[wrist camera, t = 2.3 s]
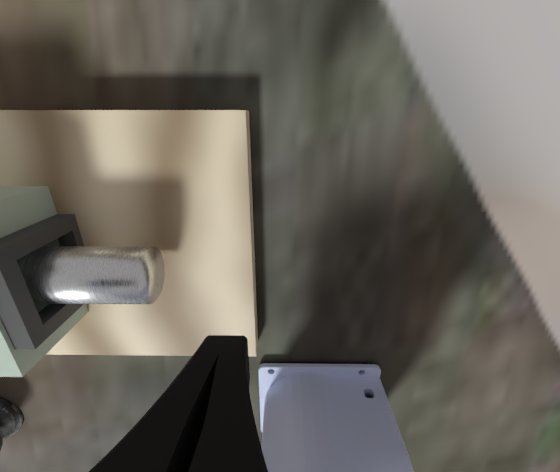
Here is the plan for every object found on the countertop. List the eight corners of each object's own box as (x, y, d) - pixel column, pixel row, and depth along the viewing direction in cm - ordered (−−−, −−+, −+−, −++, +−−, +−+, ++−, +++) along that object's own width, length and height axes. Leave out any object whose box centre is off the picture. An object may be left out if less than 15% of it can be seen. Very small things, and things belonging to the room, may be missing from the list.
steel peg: (159, 237, 16) (132, 263, 13) (167, 283, 17) (145, 316, 14) (-1, 236, 16) (-62, 262, 13) (18, 282, 17) (-34, 315, 14)
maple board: (249, 110, 15) (245, 110, 14) (258, 340, 21) (256, 356, 20) (-152, 110, 15) (-195, 110, 14) (-28, 338, 22) (-49, 353, 20)
